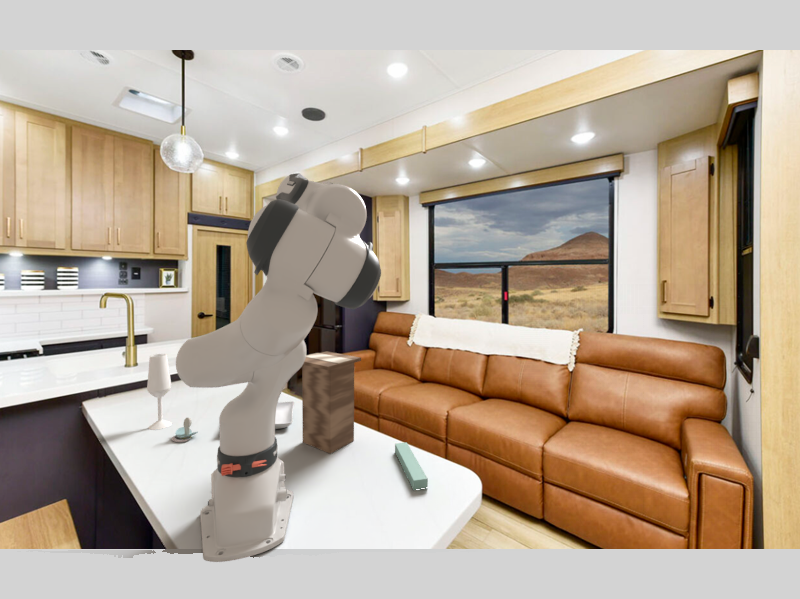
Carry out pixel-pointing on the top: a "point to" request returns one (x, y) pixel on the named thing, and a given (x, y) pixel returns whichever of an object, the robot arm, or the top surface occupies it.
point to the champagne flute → (159, 385)
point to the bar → (411, 466)
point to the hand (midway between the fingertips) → (284, 274)
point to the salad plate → (284, 414)
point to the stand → (328, 400)
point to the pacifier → (184, 432)
